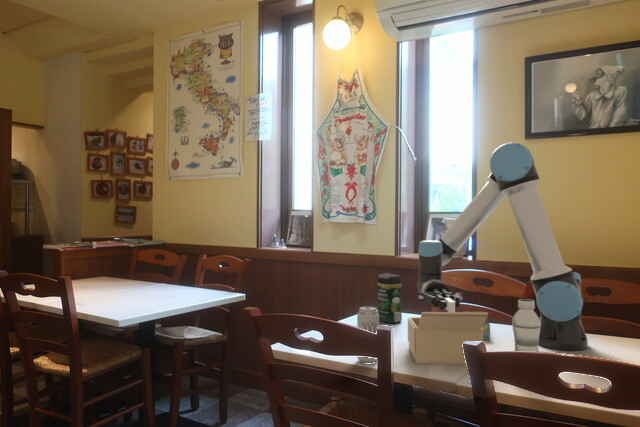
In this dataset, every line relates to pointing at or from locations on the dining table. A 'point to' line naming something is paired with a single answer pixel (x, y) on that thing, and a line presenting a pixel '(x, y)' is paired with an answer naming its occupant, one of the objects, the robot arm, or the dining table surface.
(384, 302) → the coffee jar
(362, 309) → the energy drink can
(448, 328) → the long flap
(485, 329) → the beverage carton
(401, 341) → the dining table surface
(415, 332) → the kraft box
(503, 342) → the dining table surface
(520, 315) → the plastic bottle
